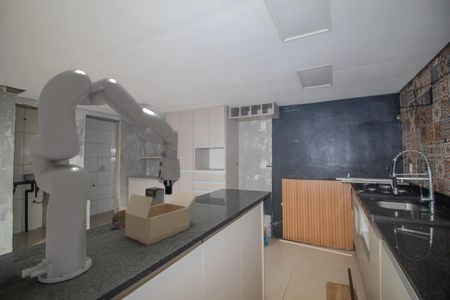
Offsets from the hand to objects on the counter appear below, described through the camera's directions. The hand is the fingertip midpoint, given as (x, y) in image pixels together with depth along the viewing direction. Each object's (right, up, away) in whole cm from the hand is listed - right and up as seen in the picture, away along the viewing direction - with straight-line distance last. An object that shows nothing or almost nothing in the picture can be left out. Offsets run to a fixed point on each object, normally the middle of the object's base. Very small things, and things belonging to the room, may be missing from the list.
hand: (168, 194), depth 95 cm
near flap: (-9, -2, -12) cm, 15 cm away
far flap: (+5, -4, +7) cm, 10 cm away
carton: (-3, -16, -5) cm, 17 cm away
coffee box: (-13, -17, +18) cm, 28 cm away
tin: (-20, -17, +4) cm, 26 cm away
